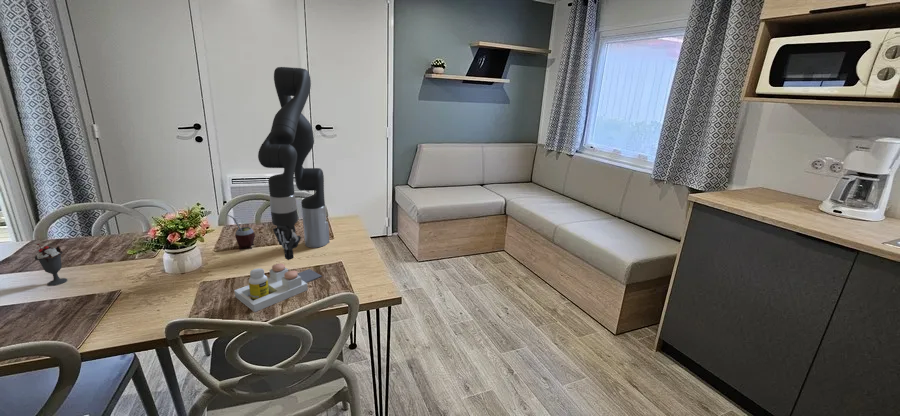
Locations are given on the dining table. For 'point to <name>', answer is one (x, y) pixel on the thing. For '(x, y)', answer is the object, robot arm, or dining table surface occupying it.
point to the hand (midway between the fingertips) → (289, 258)
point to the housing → (273, 291)
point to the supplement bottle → (258, 284)
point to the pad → (309, 275)
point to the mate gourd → (244, 236)
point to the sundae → (51, 263)
